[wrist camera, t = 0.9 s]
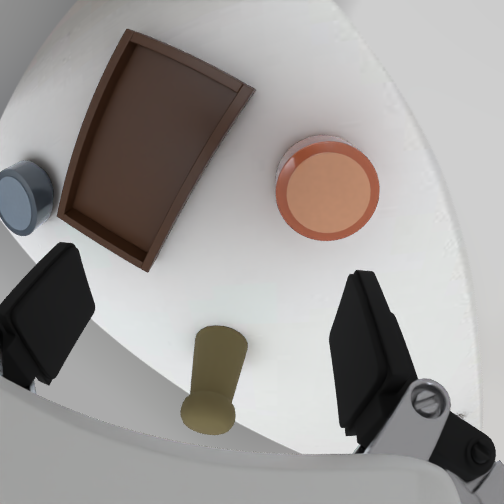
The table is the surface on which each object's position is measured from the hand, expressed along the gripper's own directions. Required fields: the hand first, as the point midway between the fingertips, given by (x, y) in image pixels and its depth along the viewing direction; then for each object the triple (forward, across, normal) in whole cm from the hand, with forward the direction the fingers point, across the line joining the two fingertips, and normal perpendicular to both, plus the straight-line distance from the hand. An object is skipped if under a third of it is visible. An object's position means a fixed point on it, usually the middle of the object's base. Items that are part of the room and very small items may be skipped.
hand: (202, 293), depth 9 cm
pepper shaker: (+15, +2, +20) cm, 25 cm away
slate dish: (+14, +22, +2) cm, 26 cm away
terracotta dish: (+14, -6, 0) cm, 16 cm away
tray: (+14, +8, -1) cm, 17 cm away
